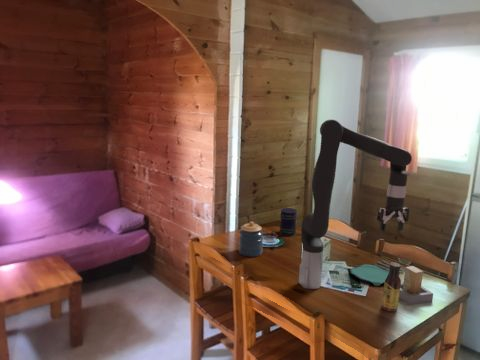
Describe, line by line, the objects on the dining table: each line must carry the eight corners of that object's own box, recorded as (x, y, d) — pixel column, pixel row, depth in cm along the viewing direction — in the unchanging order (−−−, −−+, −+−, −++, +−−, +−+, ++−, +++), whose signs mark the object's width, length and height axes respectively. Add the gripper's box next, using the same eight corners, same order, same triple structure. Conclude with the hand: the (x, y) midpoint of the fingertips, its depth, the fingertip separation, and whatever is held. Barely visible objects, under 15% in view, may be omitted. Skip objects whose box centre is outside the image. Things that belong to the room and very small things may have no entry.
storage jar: (279, 235, 256) (280, 212, 253) (280, 230, 265) (281, 207, 262) (295, 236, 254) (296, 213, 251) (296, 231, 264) (297, 208, 260)
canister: (266, 251, 230) (267, 220, 226) (254, 259, 219) (255, 227, 216) (246, 246, 237) (247, 216, 233) (233, 253, 226) (234, 222, 222)
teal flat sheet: (342, 274, 204) (343, 270, 204) (379, 261, 222) (379, 257, 222) (377, 290, 189) (378, 286, 188) (413, 275, 207) (414, 271, 207)
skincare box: (401, 292, 185) (404, 266, 183) (408, 290, 187) (412, 265, 184) (412, 299, 179) (416, 272, 177) (420, 297, 181) (423, 271, 179)
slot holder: (408, 305, 176) (409, 296, 175) (390, 291, 187) (391, 284, 186) (432, 301, 179) (433, 293, 179) (413, 288, 191) (414, 281, 190)
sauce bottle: (378, 304, 176) (383, 260, 171) (393, 304, 176) (398, 260, 172) (385, 313, 169) (390, 267, 165) (400, 312, 170) (405, 267, 165)
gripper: (404, 192, 186) (399, 227, 190) (376, 193, 182) (372, 228, 186) (415, 197, 179) (410, 233, 182) (386, 197, 175) (381, 234, 179)
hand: (391, 230), depth 184 cm, fingers open, 8 cm apart
